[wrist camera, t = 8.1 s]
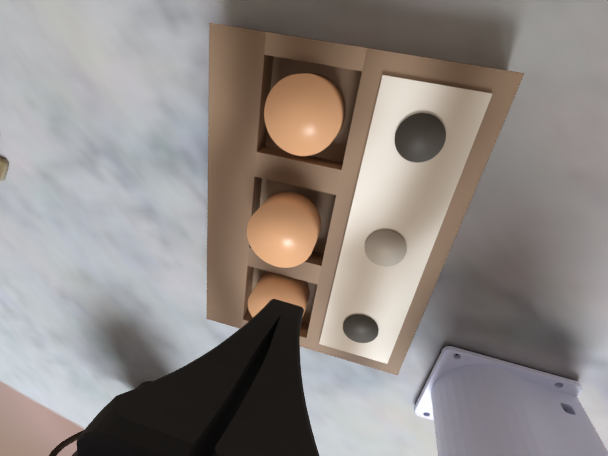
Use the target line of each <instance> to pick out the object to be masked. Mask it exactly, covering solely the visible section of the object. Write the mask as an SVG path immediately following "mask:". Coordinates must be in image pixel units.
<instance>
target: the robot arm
mask: <svg viewBox="0 0 608 456" xmlns="http://www.w3.org/2000/svg"><path fill="white" fill-rule="evenodd" d="M303 313H304V309H303V308H302V307H301V306H297V305H294V304H291V303H287V302H284V301H280V300H277V299H272V300H270V301H269V302H268V303H267V305H266V306H265V307H264V308H263V309H262V310H261V311H260V312H259V313H257V314H256V315H255V316H254V317H253V318H252V319H251V320H250V321H249V322H247V323H246V324H245V325H244V326H243V327H242V328H240V329H239V330H238V331H237V332H235V333H234V334H233V335H232V336H230V337H229V338H228V339H226V340H225V341H224V342H222V343H221V344H220V345H218V346H217V347H215V348H214V349H212V350H211V351H209V352H208V353H206V354H205V355H203V356H201V357H200V358H198V359H196V360H194V361H193V362H191V363H189V364H188V365H186V366H184V367H182V368H180V369H178V370H176V371H174V372H172V373H170V374H168V375H166V376H164V377H162V378H160V379H157V380H155V381H153V382H151V383H149V384H146V385H144V386H141V387H139V388H136V389H133V390H131V391H128V392H126V393H123V394H120V395H118V396H116V397H115V398H114V399H113V400H112V401H111V402H110V403H109V404H108V405H106V406H105V407H104V408H103V409H102V410H101V412H100V413H99V414H98V415H97V416H96V417H95V418H94V419H93V421H92V422H91V423H90V424H89V425H88V427H87V428H86V429H85V430H84V431H83V432H82V434H81V435H80V436H79V438H78V440H77V452H78V455H79V456H319V453H318V450H317V447H316V443H315V440H314V436H313V433H312V429H311V425H310V420H309V416H308V412H307V407H306V403H305V397H304V391H303V384H302V377H301V367H300V327H301V323H302V318H303ZM455 354H459V355H455ZM581 391H582V387H581V385H580V383H579V382H577V381H574V380H571V379H567V378H564V377H560V376H556V375H553V374H549V373H546V372H542V371H538V370H535V369H531V368H528V367H524V366H520V365H517V364H513V363H510V362H506V361H502V360H499V359H495V358H492V357H488V356H484V355H481V354H477V353H474V352H470V351H467V350H463V349H459V348H456V347H452V346H446V347H444V348H443V349H442V351H441V354H440V356H439V358H438V360H437V362H436V364H435V366H434V368H433V370H432V372H431V374H430V376H429V378H428V380H427V382H426V384H425V386H424V388H423V390H422V392H421V394H420V396H419V398H418V400H417V402H416V405H415V407H414V412H415V414H416V415H418V416H421V417H424V418H428V419H431V420H434V426H435V434H436V442H437V450H438V456H608V451H607V449H606V448H605V446H604V444H603V442H602V441H601V439H600V437H599V435H598V434H597V432H596V430H595V428H594V426H593V425H592V423H591V421H590V419H589V418H588V416H587V414H586V412H585V411H584V409H583V407H582V405H581V403H580V402H579V400H578V398H577V396H578V395H579V393H580V392H581Z"/></svg>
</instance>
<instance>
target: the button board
mask: <svg viewBox="0 0 608 456" xmlns="http://www.w3.org/2000/svg"><path fill="white" fill-rule="evenodd" d="M302 73H317V74H321V75H323V76H326V77H327V78H329V79H330V80H332V81H333V82H334V83H335V84H336V85H337V86H338V88H339V89H340V91H341V93H342V95H343V98H344V101H345V106H346V115H345V121H344V124H343V126H342V129H341V130H340V132H339V133H338V135H337V136H336V137H335V139H334V140H333V141H332V142H331V144H330V145H329V146H328V147H326V148H325V149H324V150H322V151H321V152H319V153H317V154H314V155H310V156H298V155H293V154H290V153H288V152H286V151H284V150H283V149H281V148H280V147H279V146H278V145H277V144H276V143H275V142H274V141H273V140H272V138H271V136H270V135H269V133H268V131H267V128H266V124H265V119H264V108H265V103H266V99H267V97H268V95H269V93H270V91H271V89H272V88H273V87H274V86H275V85H276V84H277V83H278V82H279V81H280V80H282V79H283V78H285V77H287V76H290V75H294V74H302ZM523 76H524V73H519V72H513V71H507V70H501V69H495V68H488V67H482V66H476V65H470V64H463V63H457V62H451V61H445V60H439V59H432V58H426V57H420V56H414V55H407V54H401V53H395V52H389V51H382V50H376V49H370V48H364V47H358V46H351V45H345V44H339V43H333V42H326V41H320V40H314V39H308V38H302V37H295V36H289V35H283V34H277V33H270V32H264V31H258V30H252V29H246V28H239V27H233V26H227V25H221V24H214V23H210V36H209V136H208V236H207V319H210V320H213V321H217V322H220V323H223V324H227V325H230V326H233V327H237V328H242V327H243V326H244V325H245V324H246V323H247V322H249V321H250V320H251V319H252V318H253V317H252V316H251V314H250V312H249V309H248V299H249V296H250V294H251V293H252V291H253V289H254V288H255V286H256V285H257V283H258V281H259V280H260V278H261V277H262V275H263V274H264V273H265V272H267V271H269V272H273V273H276V274H280V275H284V276H288V277H291V278H295V279H299V280H303V281H305V282H306V284H307V285H308V288H309V292H310V297H309V301H308V304H307V307H306V310H305V312H304V315H303V318H302V323H301V327H300V346H301V347H304V348H308V349H311V350H314V351H318V352H321V353H324V354H328V355H331V356H334V357H338V358H341V359H345V360H348V361H351V362H355V363H358V364H361V365H365V366H368V367H372V368H375V369H378V370H382V371H385V372H388V373H392V374H395V375H398V373H399V370H400V368H401V366H402V363H403V361H404V359H405V356H406V354H407V351H408V349H409V347H410V344H411V342H412V340H413V337H414V335H415V332H416V330H417V328H418V325H419V323H420V321H421V318H422V316H423V313H424V311H425V309H426V306H427V304H428V302H429V299H430V297H431V294H432V292H433V290H434V287H435V285H436V283H437V280H438V278H439V275H440V273H441V271H442V268H443V266H444V263H445V261H446V259H447V256H448V254H449V252H450V249H451V247H452V244H453V242H454V240H455V237H456V235H457V233H458V230H459V228H460V225H461V223H462V221H463V218H464V216H465V214H466V211H467V209H468V206H469V204H470V202H471V199H472V197H473V195H474V192H475V190H476V187H477V185H478V183H479V180H480V178H481V176H482V173H483V171H484V168H485V166H486V164H487V161H488V159H489V157H490V154H491V152H492V149H493V147H494V145H495V142H496V140H497V137H498V135H499V133H500V130H501V128H502V126H503V123H504V121H505V118H506V116H507V114H508V111H509V109H510V107H511V104H512V102H513V99H514V97H515V95H516V92H517V90H518V88H519V85H520V83H521V80H522V78H523ZM279 192H295V193H298V194H301V195H303V196H305V197H306V198H308V199H309V200H310V201H311V202H312V203H313V204H314V205H315V206H316V208H317V209H318V211H319V214H320V217H321V223H322V226H321V232H320V234H319V237H318V239H317V241H316V244H315V246H314V248H313V251H312V253H311V255H310V256H309V258H308V259H307V260H306V261H305V262H303V263H302V264H300V265H298V266H295V267H290V268H282V267H276V266H273V265H270V264H268V263H266V262H265V261H263V260H262V259H261V258H259V257H258V256H257V255H256V254H255V252H254V251H253V250H252V248H251V246H250V244H249V242H248V238H247V225H248V222H249V220H250V218H251V216H252V215H253V214H254V213H255V212H256V211H257V210H258V209H259V208H260V206H261V205H262V204H263V203H264V202H265V201H266V200H267V199H268V198H269V197H271V196H272V195H274V194H276V193H279Z"/></svg>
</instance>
